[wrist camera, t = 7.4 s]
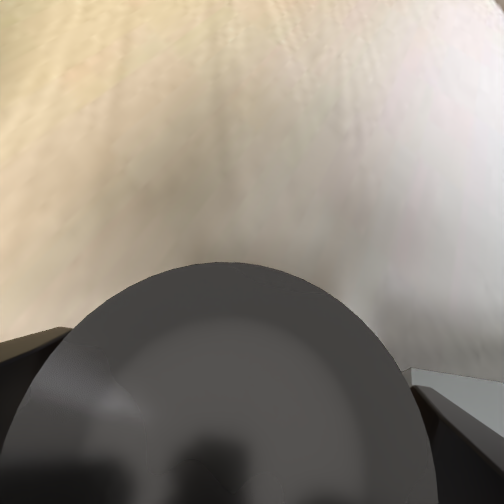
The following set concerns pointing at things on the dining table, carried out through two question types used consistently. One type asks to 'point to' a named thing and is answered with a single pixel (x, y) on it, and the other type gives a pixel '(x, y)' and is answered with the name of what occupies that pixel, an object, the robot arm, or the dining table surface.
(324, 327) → the cylinder
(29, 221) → the dining table surface
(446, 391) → the slate block
